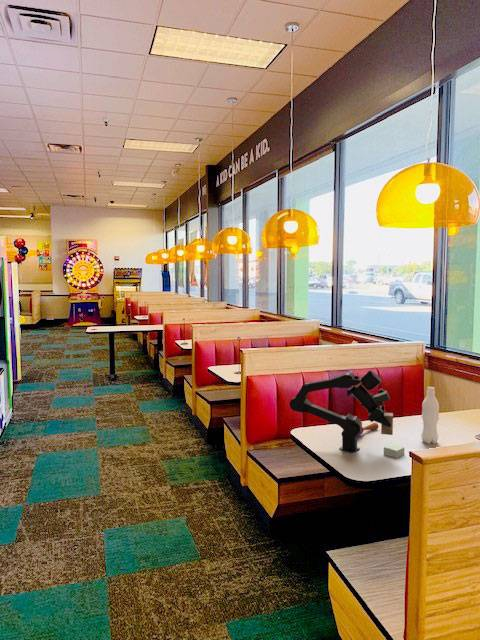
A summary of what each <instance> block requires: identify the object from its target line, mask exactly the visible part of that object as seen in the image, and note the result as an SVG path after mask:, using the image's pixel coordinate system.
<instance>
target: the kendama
mask: <svg viewBox="0 0 480 640" xmlns="http://www.w3.org/2000/svg"><path fill="white" fill-rule="evenodd" d="M378 429H379V424H378V422H372V423H370V424H369V425H366V426H364V427H363V426H362V428H361V430H360V432H359V433H358V434H356V435H357V438H359V437H361V436H362V434H363V432H364V431H371V430H373V431H375V430H378Z"/></svg>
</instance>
